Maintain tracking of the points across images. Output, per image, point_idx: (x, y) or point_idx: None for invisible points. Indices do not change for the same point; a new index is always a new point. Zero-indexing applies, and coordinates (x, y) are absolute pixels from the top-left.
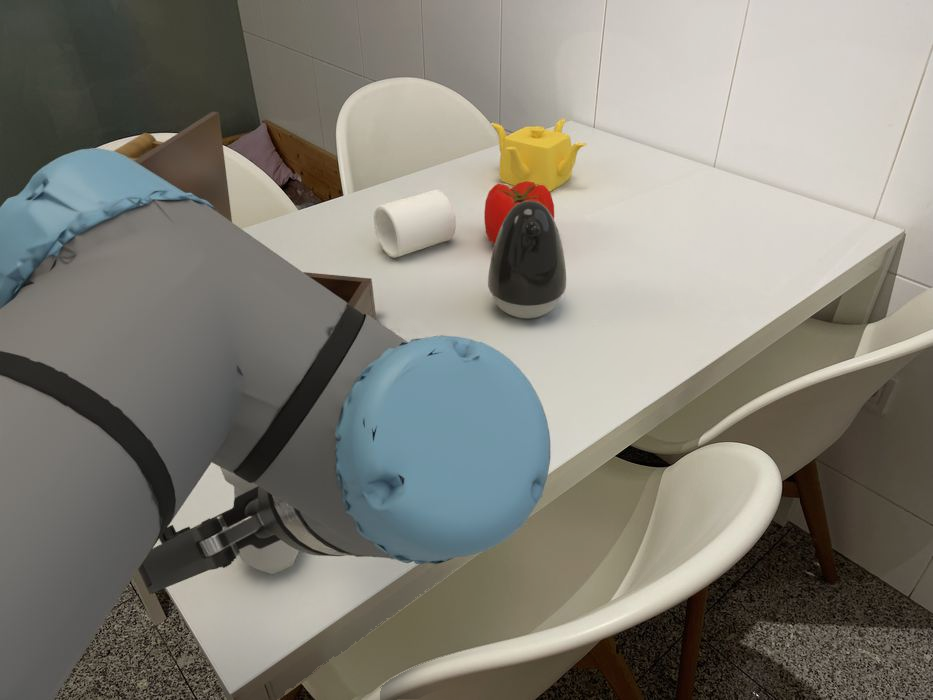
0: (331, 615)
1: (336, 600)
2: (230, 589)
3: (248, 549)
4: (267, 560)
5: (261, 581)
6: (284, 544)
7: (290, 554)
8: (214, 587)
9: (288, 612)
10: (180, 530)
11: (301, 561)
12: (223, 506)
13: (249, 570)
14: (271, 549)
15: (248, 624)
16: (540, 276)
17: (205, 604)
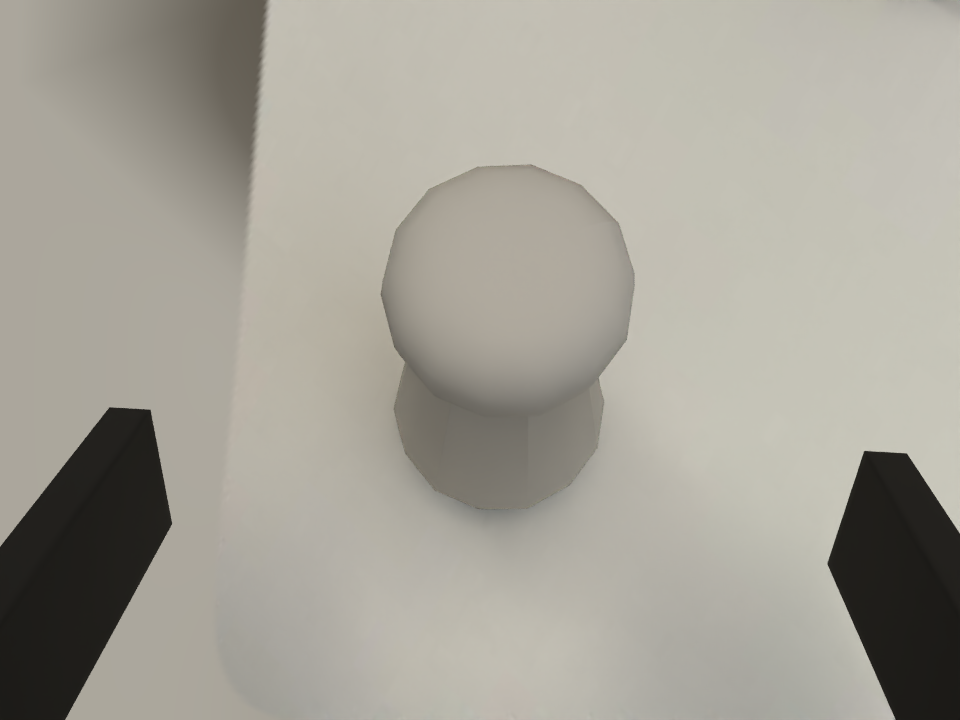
0: (516, 715)
1: (553, 681)
2: (347, 439)
3: (409, 436)
4: (444, 488)
5: None
6: (507, 493)
7: (513, 507)
8: (319, 403)
9: (429, 618)
10: (46, 521)
11: None
12: None
13: None
14: (464, 485)
15: (328, 575)
16: None
17: (275, 437)
